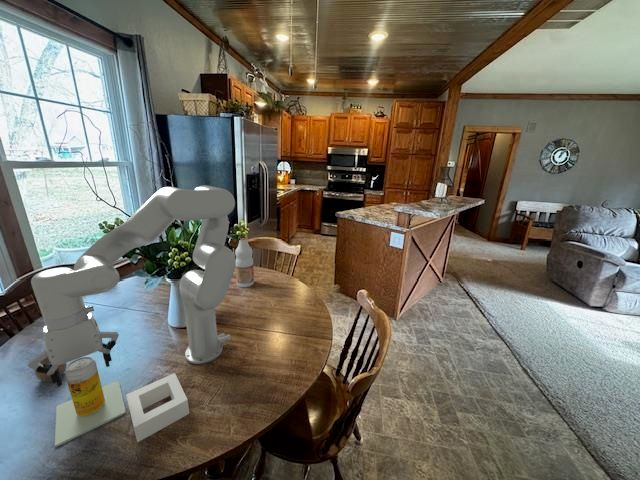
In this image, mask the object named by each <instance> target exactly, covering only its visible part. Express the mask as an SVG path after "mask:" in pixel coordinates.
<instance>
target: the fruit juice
mask: <svg viewBox="0 0 640 480" xmlns="http://www.w3.org/2000/svg"><path fill="white" fill-rule="evenodd" d="M238 240H239V239H238ZM248 241H249V236H248V235H246V237H245V238H244V239H242V240H239V241H238V245H237V247H236V249H235V252H234V255H235V275H236V286H237V287H239V288H249V287H252V286H253V285H254V283H255V276H254V274H255V271H254V258H253V253H254V251H253V249H252V247H251V246H250V244H249V242H248Z"/></svg>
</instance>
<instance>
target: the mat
mask: <svg viewBox="0 0 640 480" xmlns="http://www.w3.org/2000/svg"><path fill="white" fill-rule="evenodd" d="M102 390H103V394H104V398H105V403H104V405H103V406H102V408H101V409H100V410H99V411H98V412H96V413H95V414H93V415H91V416H87V417H82V416H78V415H77V414H76V411H75V407H74V404H73V400H72V399H70V400H68V401H65V402H63V403H61V404H58V405H56V406H55V408H56V409H55V428H54V429H55V432H54V433H55V434H54V448H57V447H59V446H62V445H64V444H65V443H67V442H70V441H72V440H73V439H77V438H78V437H80V436H82V435H84V434H86V433H88V432H90V431H92V430H95V429H96V428H99V427H101V426H102V425H105V424H107V423H109V422H112V421H114V420H115V419H118V418H119V417H122V416H123V415H125V414H126V408H125V404H124V403H125V402H124V398H123V393H122V388H121V385H120V381H119V380H115V381H114V382H110V383H109V384H106V385H104V386H102Z"/></svg>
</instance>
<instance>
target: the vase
mask: <svg viewBox="0 0 640 480" xmlns="http://www.w3.org/2000/svg"><path fill="white" fill-rule="evenodd" d="M39 363H41V364H47V365H49V364H50V361H49V358H48V357H46V358H45V359H44V360H42V361H41V362H39ZM67 366H68V365H67V363H64V364H61V365H59V366H58V368H59V371H60V374H61V377H62V376H63V375H65V371H66V367H67ZM34 375H35V377H36V378H37V379H38V380H39V382H40V381H41V382H45V383H49V382H52V379H51V377H50V375H47V374H46V373H40V372H37V371H36V370H34Z"/></svg>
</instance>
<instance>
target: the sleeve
mask: <svg viewBox="0 0 640 480" xmlns="http://www.w3.org/2000/svg"><path fill="white" fill-rule="evenodd" d="M125 396H126V400H127V406H128V409H129V414H130V417H131V421H132V426H133V429H134V434H135V439H136V442H137V443H139V442H141V441H143V440H144V439H146V438H148V437H151V436H152V435H154V434H155V433H157V432H159V431H160V430H163V429H164V428H166V427H168V426H169V425H172V424H173V423H175V422H177V421H179V420H180V419H182V418H185V417H186V416H188V415H189V414H190V409H189V407H190V406H189V400H188V397H187V396H186V394H185V391H184V390H183V386H182V385H181V382H180V381H179V379H178V376H177V375H176V373H175V372H173V373H171V374H169V375H167V376H164V377H163V378H161V379H158V380H156V381H154V382H151V383H149V384H147V385H144V386H142V387H140V388H138V389H135V390H133V391H132V392H128V393H126V395H125ZM168 397H170V398H171V400H169V401H167V402H165V403H163V404H161V405H159V406H157V407H155V408H153V409H151V410H149V411H147V412H145V413H144V409H146V408H148V407H150V406H152V405H154V404H156V403H158V402H160V401H162V400H164V399H167V398H168Z"/></svg>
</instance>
